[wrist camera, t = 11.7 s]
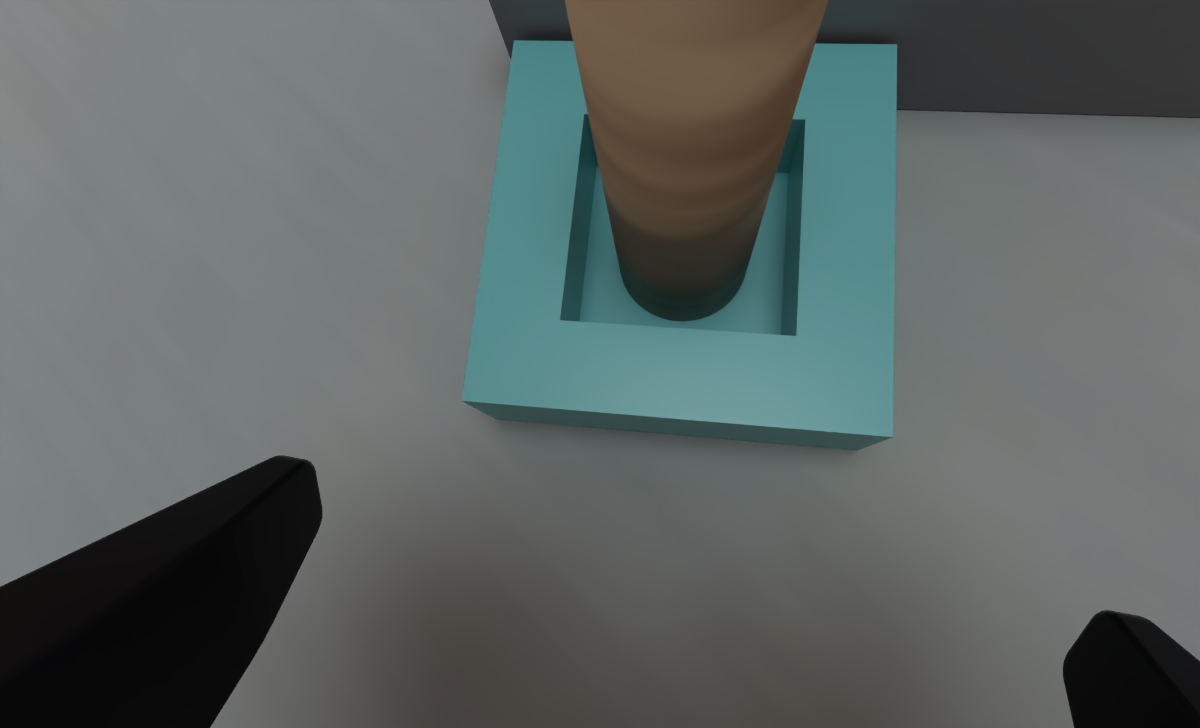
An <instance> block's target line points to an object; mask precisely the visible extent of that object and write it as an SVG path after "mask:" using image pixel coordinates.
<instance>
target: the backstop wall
mask: <svg viewBox="0 0 1200 728" xmlns="http://www.w3.org/2000/svg"><path fill="white" fill-rule="evenodd" d="M489 2H490V4H491V7H492V10H493V12H494V15H495V18H496V21H497V23H498V26H499V29H500V31H501V34H502V37H503V39H504V42H505V45H506V47H507V50H508V53H509V56H510V58H511V57H512V50H513V44H514V40H522V41H573V39H572V34H571V29H570V24H569V19H568V14H567V9H566V4H565V0H489ZM815 44H897V106H896V109H906V110H944V111H982V112H1019V113H1057V114H1095V115H1133V116H1171V117H1200V0H828V2H827V6H826V9H825V12H824V16H823V19H822V22H821V26H820V29H819V32H818V36H817V39H816V42H815Z"/></svg>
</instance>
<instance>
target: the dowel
mask: <svg viewBox="0 0 1200 728" xmlns="http://www.w3.org/2000/svg"><path fill="white" fill-rule="evenodd" d="M827 2H828V0H565V4H566V9H567V14H568V19H569V24H570V29H571V34H572V39H573V43H574V48H575V53H576V58H577V63H578V68H579V73H580V78H581V82H582V87H583V92H584V97H585V102H586V107H587V112H588V117H589V121H590V126H591V131H592V136H593V141H594V146H595V151H596V156H597V161H598V165H599V170H600V175H601V180H602V185H603V190H604V195H605V200H606V204H607V209H608V214H609V219H610V224H611V229H612V234H613V239H614V243H615V248H616V253H617V258H618V263H619V268H620V273H621V277H622V280H623V283H624V285H625V287H626V289H627V291H628V293H629V294H630V296H631V297H632V298H633V299H634V301H635V302H636V303H637V304H638V305H640V306H641V307H642V308H643V309H645V310H646V311H648V312H650V313H651V314H653V315H656V316H658V317H660V318H664V319H667V320H673V321H692V320H697V319H702V318H705V317H707V316H710V315H712V314H714V313H716V312H718V311H719V310H721V309H722V308H723V307H725V306H726V305H727V304H728V303H729V302H730V301H731V300H732V299H733V298H734V297H735V295H736V294H737V292H738V291H739V289H740V288H741V285H742V283H743V281H744V278H745V274H746V271H747V268H748V265H749V261H750V258H751V255H752V251H753V248H754V245H755V241H756V238H757V235H758V231H759V228H760V225H761V221H762V218H763V215H764V211H765V208H766V205H767V201H768V198H769V195H770V192H771V188H772V185H773V182H774V178H775V175H776V172H777V168H778V165H779V162H780V158H781V155H782V152H783V148H784V145H785V142H786V138H787V135H788V132H789V129H790V125H791V122H792V119H793V115H794V112H795V109H796V105H797V102H798V99H799V95H800V92H801V89H802V85H803V82H804V79H805V75H806V72H807V69H808V65H809V62H810V59H811V56H812V52H813V49H814V46H815V42H816V39H817V36H818V32H819V29H820V26H821V22H822V19H823V16H824V12H825V9H826V6H827Z"/></svg>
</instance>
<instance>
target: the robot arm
mask: <svg viewBox="0 0 1200 728" xmlns="http://www.w3.org/2000/svg"><path fill="white" fill-rule="evenodd" d="M321 520H322V504H321V498H320V493H319V487H318V482H317V476H316V471H315V467H314V466H313V464H312V463H311V462H310V461H308V460H305V459H300V458H294V457H289V456H275V457H272V458H270V459H268V460H266V461H264V462H261V463H259V464H257V465H255V466H253V467H251V468H249V469H247V470H245V471H243V472H240V473H238V474H236V475H234V476H232V477H230V478H228V479H226V480H224V481H221V482H219V483H217V484H215V485H213V486H211V487H209V488H207V489H205V490H203V491H200V492H198V493H196V494H194V495H192V496H190V497H188V498H186V499H184V500H182V501H179V502H177V503H175V504H173V505H171V506H169V507H167V508H165V509H163V510H161V511H158V512H156V513H154V514H152V515H150V516H148V517H146V518H144V519H142V520H140V521H137V522H135V523H133V524H131V525H129V526H127V527H125V528H123V529H121V530H119V531H116V532H114V533H112V534H110V535H108V536H106V537H104V538H102V539H100V540H98V541H95V542H93V543H91V544H89V545H87V546H85V547H83V548H81V549H79V550H77V551H74V552H72V553H70V554H68V555H66V556H64V557H62V558H60V559H58V560H56V561H53V562H51V563H49V564H47V565H45V566H43V567H41V568H39V569H37V570H34V571H32V572H30V573H28V574H26V575H24V576H22V577H20V578H18V579H16V580H13V581H11V582H9V583H7V584H5V585H3V586H1V587H0V728H210V727H211V725H212V724H213V722H214V720H215V719H216V717H217V716H218V714H219V712H220V711H221V709H222V708H223V706H224V704H225V703H226V701H227V700H228V698H229V696H230V695H231V693H232V692H233V690H234V688H235V687H236V685H237V684H238V682H239V680H240V679H241V677H242V676H243V674H244V672H245V671H246V669H247V668H248V666H249V664H250V663H251V661H252V659H253V658H254V656H255V654H256V653H257V651H258V649H259V648H260V646H261V644H262V643H263V641H264V639H265V637H266V635H267V633H268V631H269V629H270V627H271V626H272V624H273V622H274V620H275V618H276V616H277V613H278V611H279V609H280V607H281V605H282V603H283V601H284V599H285V597H286V595H287V593H288V591H289V589H290V587H291V585H292V583H293V581H294V579H295V577H296V575H297V573H298V571H299V569H300V567H301V565H302V563H303V561H304V559H305V556H306V554H307V552H308V550H309V548H310V546H311V544H312V542H313V540H314V538H315V536H316V534H317V532H318V530H319V527H320V524H321ZM1063 678H1064V684H1065V688H1066V693H1067V697H1068V702H1069V706H1070V711H1071V715H1072V720H1073V724H1074V728H1200V661H1199V660H1198V659H1196V658H1195V657H1194V656H1193V655H1192V654H1190V653H1189V652H1188V651H1187V650H1186V649H1184V648H1183V647H1182V646H1181V645H1179V644H1178V643H1177V642H1176V641H1175V640H1173V639H1172V638H1171V637H1170V636H1169V635H1167V634H1166V633H1165V632H1164V631H1162V630H1161V629H1160V628H1159V627H1158V626H1156V625H1155V624H1154V623H1152V622H1151V621H1150V620H1148V619H1146V618H1143V617H1140V616H1136V615H1131V614H1125V613H1120V612H1115V611H1109V610H1106V611H1101V612H1099V613H1097V614H1095V615H1094V616H1093V618H1092V619H1091V620H1090V622H1089V623H1088V625H1087V626H1086V627H1085V629H1084V630H1083V632H1082V633H1081V634H1080V636H1079V637H1078V639H1077V640H1076V642H1075V643H1074V644H1073V646H1072V647H1071V649H1070V650H1069V651H1068V653H1067V655H1066V657H1065V660H1064V664H1063Z"/></svg>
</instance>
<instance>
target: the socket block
mask: <svg viewBox="0 0 1200 728" xmlns="http://www.w3.org/2000/svg"><path fill="white" fill-rule="evenodd" d="M896 106H897V44H815V46H814V49H813V52H812V56H811V59H810V62H809V65H808V69H807V72H806V75H805V79H804V82H803V85H802V89H801V92H800V95H799V99H798V102H797V105H796V109H795V112H794V115H793V119H792V122H791V125H790V129H789V132H788V135H787V138H786V142H785V145H784V148H783V152H782V155H781V158H780V162H779V165H778V168H777V172H776V175H775V178H774V182H773V185H772V188H771V192H770V195H769V198H768V201H767V205H766V208H765V211H764V215H763V218H762V221H761V225H760V228H759V231H758V235H757V238H756V241H755V245H754V248H753V251H752V255H751V258H750V261H749V265H748V268H747V271H746V274H745V278H744V281H743V283H742V285H741V288H740V289H739V291H738V292H737V294H736V295H735V297H734V298H733V299H732V300H731V301H730V302H729V303H728V304H727V305H726V306H725V307H723V308H722V309H721V310H719V311H718V312H716V313H714V314H712V315H710V316H707V317H705V318H702V319H697V320H692V321H673V320H667V319H664V318H660V317H658V316H656V315H653V314H651V313H650V312H648V311H646V310H645V309H643V308H642V307H641V306H640V305H638V304H637V303H636V302H635V301H634V299H633V298H632V297H631V296H630V294H629V293H628V291H627V289H626V287H625V285H624V283H623V280H622V277H621V273H620V268H619V263H618V258H617V253H616V248H615V243H614V239H613V234H612V229H611V224H610V219H609V214H608V209H607V204H606V200H605V195H604V190H603V185H602V180H601V175H600V170H599V165H598V161H597V156H596V151H595V146H594V141H593V136H592V131H591V126H590V121H589V117H588V112H587V107H586V102H585V97H584V92H583V87H582V82H581V78H580V73H579V68H578V63H577V58H576V53H575V48H574V43H573V41H522V40H514V44H513V50H512V57H511V64H510V71H509V78H508V85H507V92H506V99H505V106H504V112H503V119H502V126H501V133H500V140H499V147H498V154H497V161H496V168H495V174H494V181H493V188H492V195H491V202H490V209H489V216H488V223H487V229H486V236H485V243H484V250H483V257H482V264H481V271H480V278H479V285H478V291H477V298H476V305H475V312H474V319H473V326H472V333H471V340H470V347H469V353H468V360H467V367H466V374H465V381H464V388H463V395H462V401H463V402H465V403H467V404H469V405H471V406H473V407H474V408H476V409H478V410H480V411H482V412H484V413H486V414H488V415H490V416H491V417H493V418H495V419H501V420H513V421H524V422H536V423H547V424H558V425H570V426H581V427H593V428H604V429H616V430H627V431H639V432H650V433H662V434H673V435H685V436H696V437H707V438H719V439H730V440H742V441H753V442H765V443H776V444H788V445H799V446H811V447H822V448H834V449H845V450H859V449H862V448H865V447H867V446H870V445H873V444H876V443H878V442H881V441H884V440H886V439H889V438H892V437H893V388H894V294H895V200H896Z"/></svg>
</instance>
